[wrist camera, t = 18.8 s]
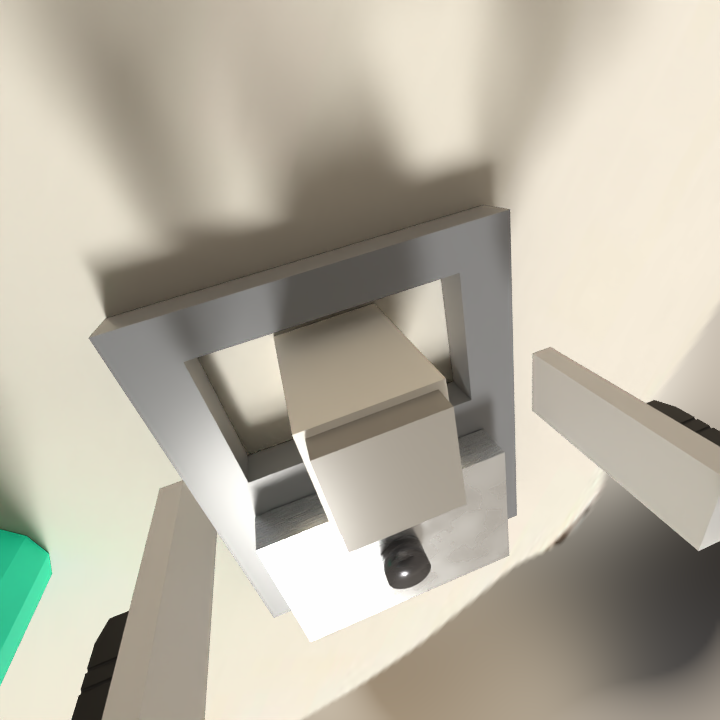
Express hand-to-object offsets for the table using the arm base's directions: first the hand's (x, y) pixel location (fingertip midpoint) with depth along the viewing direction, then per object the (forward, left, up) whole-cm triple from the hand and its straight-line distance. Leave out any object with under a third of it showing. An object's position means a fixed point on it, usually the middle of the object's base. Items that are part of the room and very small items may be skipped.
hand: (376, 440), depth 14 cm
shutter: (+10, 0, -4) cm, 11 cm away
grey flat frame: (+4, 0, -6) cm, 8 cm away
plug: (0, 0, -6) cm, 6 cm away
